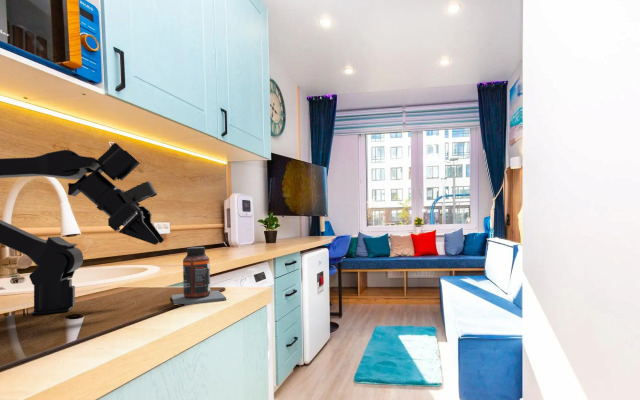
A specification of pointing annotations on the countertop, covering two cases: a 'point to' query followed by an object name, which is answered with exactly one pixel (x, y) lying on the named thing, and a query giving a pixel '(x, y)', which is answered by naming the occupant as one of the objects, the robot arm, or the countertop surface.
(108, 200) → the robot arm
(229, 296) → the countertop surface
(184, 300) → the charcoal mat
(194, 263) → the supplement bottle
